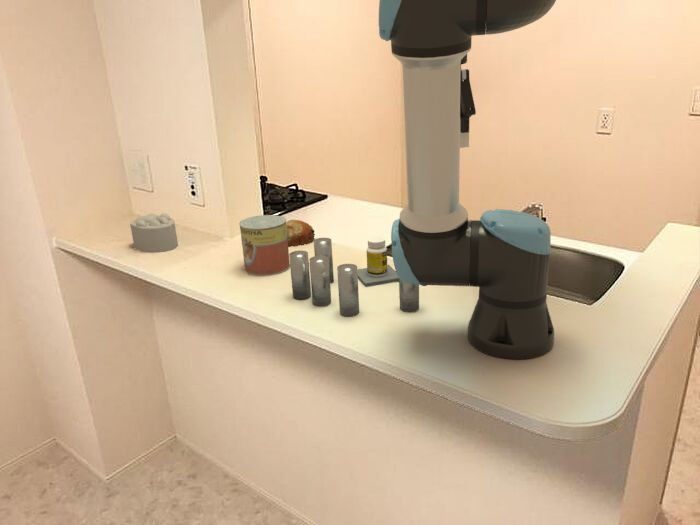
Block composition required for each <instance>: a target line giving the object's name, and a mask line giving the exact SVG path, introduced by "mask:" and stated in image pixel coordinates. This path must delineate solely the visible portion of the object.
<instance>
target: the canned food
mask: <svg viewBox="0 0 700 525" xmlns="http://www.w3.org/2000/svg"><path fill="white" fill-rule="evenodd" d="M286 222H287V219H286V218H285V217H284V216H281V215H277V214H276V215H275V214H273V215H272V214H262V215H255V216H251V217H247V218H245V219H242V220H241V221H240V222H239V224H238V225H239V230H240V238H241V248H242V255H243V263H244V271H245V273H246V274H248V275H251V276H254V277H255V276H256V277H266V276H267V277H269V276H275V275H279V274H282V273H285V272H286V271H288V270H289V269H291V268H290V257H289V254H290V253H289V246H288V240H287V229H286Z"/></svg>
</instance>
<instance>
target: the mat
mask: <svg viewBox="0 0 700 525" xmlns="http://www.w3.org/2000/svg"><path fill="white" fill-rule="evenodd" d="M357 272H358V281H359V282H360V283H361V284H362V285H363V286H364V287H365V288H366V287H367V288H368V287H374V286H379V285H384V284H385V285H386V284H390V283H395V282H399V277H398V275H397V273H396V270H395V268H393V267H392V265H390V264H387V274H386V275H385V276H382V277H372V276H369V275H368V273H367V267H365V268H364V267H363V268H357Z"/></svg>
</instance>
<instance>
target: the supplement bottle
mask: <svg viewBox="0 0 700 525" xmlns="http://www.w3.org/2000/svg"><path fill="white" fill-rule="evenodd" d="M387 265H388V248H387V246H386V239H385V238H384V237H382V236H381V237H380V236H373V237H369V238H368V239H367V247H366V268H367V273H368V275H369V276H372V277H382V276H385V275H386V274H387Z"/></svg>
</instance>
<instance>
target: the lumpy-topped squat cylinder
mask: <svg viewBox="0 0 700 525" xmlns="http://www.w3.org/2000/svg"><path fill="white" fill-rule="evenodd" d="M175 224H176V223H175V219H174V218H171V217H170V215H169V214H168V213H161V214H159V215H158V214H155V213H149V214H146V215H142V216H138V217H136V219H135V220H132V221H131V222H130V224H129V226H130V231H131V237H132V242H133V247H134V249H136V250H137V251H140V252H143V253H153V254H155V253H156V254H157V253H166V252H171V251H173V250H175V249H177V247H178V246H179V241H178V236H177V229H176V225H175Z"/></svg>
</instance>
